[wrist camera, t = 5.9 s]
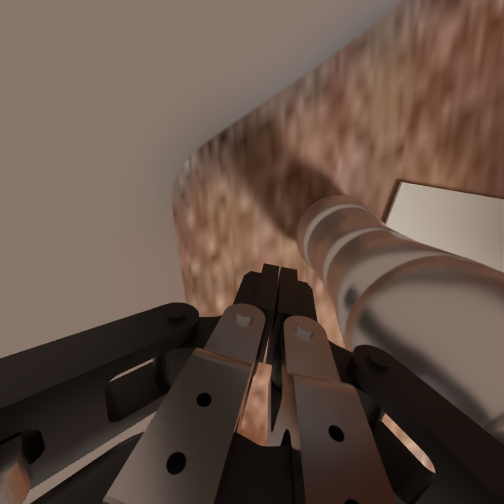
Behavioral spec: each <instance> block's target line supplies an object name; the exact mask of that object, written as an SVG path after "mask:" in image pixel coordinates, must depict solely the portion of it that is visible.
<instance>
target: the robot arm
mask: <svg viewBox="0 0 504 504" xmlns="http://www.w3.org/2000/svg"><path fill="white" fill-rule="evenodd" d="M278 274H279V266H275V265H270V264H265V263H264V265H263V269H262V273H258V272H253V271H250V272H249V273H247V274H246V275H244V277H243V280H242V283H241V285H240V288H239V290H238V293H237V295H236V298H235V300H234V303H233V305H231V306H229V307H228V308H226V310H225V311H224V313H223V315H221V316H217V317H199V313H198V311H197V309H196V308H194V307H193V306H191V305H189V304H186V303H169V304H165V305H162V306H159V307H156V308H153V309H151V310H147V311H144V312H141V313H138V314H135V315H132V316H129V317H126V318H123V319H119V320H117V321H114V322H111V323H107V324H104V325H101V326H98V327H95V328H92V329H89V330H86V331H83V332H80V333H77V334H74V335H71V336H68V337H64V338H61V339H58V340H56V341H52V342H49V343H47V344H43V345H40V346H37V347H34V348H31V349H28V350H25V351H22V352H19V353H16V354H12V355H10V356H6V357H4V358H0V504H22V503H23V502H24V500H25V498H26V496H27V494H28V492H29V490H30V489H32V488H34V487H35V486H37V485H39V484H40V483H42V482H43V481H45V480H47V479H48V478H50V477H51V476H53V475H55V474H56V473H58V472H59V471H61V470H63V469H64V468H66V467H67V466H69V465H71V464H72V463H74V462H75V461H77V460H79V459H80V458H82V457H84V456H85V455H86V454H88V453H90V452H92V451H93V450H95V449H96V448H98V447H100V446H101V445H103V444H104V443H106V442H107V441H109V440H110V439H112V438H114V437H116V436H117V435H119V434H120V433H122V432H124V431H125V430H127V429H128V428H130V427H132V426H133V425H135V424H136V423H138V422H140V421H141V420H143V419H144V418H146V417H147V416H149V415H151V414H152V413H154V412H156V411H157V412H156V413H155V415H154V417H153V418H152V420H151V422H150V423H149V425H148V427H147V428H146V430H145V431H144V432H142V433H139V434H137V435H134V436H132V437H130V438H128V439H126V440H125V441H123V442H121V443H119V444H118V445H116V446H114V447H113V448H112V449H110V450H108V451H107V452H106V453H104V454H103V455H101V456H100V457H98V458H97V459H95V460H94V461H92V462H91V463H89V464H88V465H86V466H85V467H84V468H82V469H81V470H79V471H78V472H76V473H75V474H73V475H72V476H70V477H69V478H67V479H66V480H64V481H63V482H61V483H60V484H59V485H57V486H56V487H54V488H53V489H51V490H50V491H48V492H47V493H46V494H44V495H42V496H41V497H39V498H38V499H36V500H35V501H34V502H32V503H30V504H504V445H503V444H502V443H501V442H500V441H498V440H497V439H496V438H495V437H493V436H492V435H491V434H490V433H488V432H487V431H486V430H484V429H483V428H482V427H481V426H479V425H478V424H477V423H476V422H474V421H473V420H472V419H471V418H469V417H468V416H467V415H466V414H464V413H463V412H462V411H461V410H459V409H458V408H457V407H456V406H454V405H453V404H452V403H451V402H449V401H448V400H447V399H445V398H444V397H443V396H442V395H440V394H439V393H438V392H437V391H435V390H434V389H433V388H432V387H430V386H429V385H428V384H427V383H425V382H424V381H423V380H422V379H420V378H419V377H418V376H417V375H415V374H414V373H413V372H411V371H410V370H409V369H408V368H406V367H405V366H404V365H403V364H401V363H400V362H399V361H398V360H396V359H395V358H394V357H393V356H391V355H390V354H389V353H387V352H385V351H384V350H382V349H380V348H377V347H375V346H371V345H358V346H356V347H355V348H354V350H353V352H350V351H348V350H346V349H344V348H341V347H339V346H337V345H335V344H334V343H332V342H330V341H329V340H328V338H327V334H326V332H325V330H324V328H323V327H322V326H321V325H320V324H319V323H318V322H317V316H316V310H315V304H314V298H313V291H312V289H311V287H310V286H309V285H308V284H307V283H306V282H302V281H298V278H297V270H295V269H290V268H285V267H281V270H280V274H279V278H278ZM268 338H269V340H268ZM267 342H268V348H267V356H266V364H270V365H272V372H271V376H270V380H269V385H268V440H267V446H260V445H258V444H256V443H254V442H252V441H251V440H249V439H247V438H246V437H244V436H242V435H240V434H239V431H240V427H241V423H242V420H243V416H244V412H245V408H246V404H247V400H248V396H249V392H250V389H251V385H252V381H253V377H254V375H255V374H256V371H257V367H258V362H261V363H263V359H264V355H265V351H266V346H267ZM150 359H153V362H151V363H149V364H147V365H145V366H142V367H140V368H138V369H137V370H134V371H132V372H130V373H128V374H126V375H124V376H121V377H119V378H117V379H115V380H113V381H111V382H110V380H112V379H113V378H114V377H115V376H117V375H119V374H121V373H123V372H125V371H127V370H129V369H131V368H133V367H136V366H138V365H140V364H142V363H144V362H146V361H148V360H150ZM385 413H386V414H387V415H388V416H389V417H390V418H391V419H392V420H393V421H394V422H395V423H396V424H397V425H398V426H399V427H400V428H401V429H402V430H403V431H404V432H405V433H406V434H407V435H408V436H409V437H410V438H411V439H412V440H413V441H414V442H415V443H416V444H417V445H418V446H419V447H420V448H421V449H422V450H423V451H424V452H425V454H426V455H427V456H428V457H429V458H430V460H431V462H432V463H433V465H434V468H435V471H436V473H433V472H431V471H430V470H428V469H427V468H426V467H425V466H424V465H423V464H422V463H421V462H420V461H419V460H418V459H417V458H416V457H415V456H414V455H413V454H412V453H411V452H410V451H409V450H408V449H407V448H406V446H405V445H404V444H403V443H402V442H401V441H400V440H399V439H398V438H397V437H396V436H395V435H394V434H393V433H392V432H391V431H390V430H389V429H388V427H387V426H386V425H385V424H384V423H383V422H382V421H381V420H382V418H383V416H384V415H385Z"/></svg>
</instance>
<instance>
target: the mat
mask: <svg viewBox="0 0 504 504" xmlns="http://www.w3.org/2000/svg"><path fill="white" fill-rule="evenodd" d="M384 224H386V225H387V226H388V227H389V228H391V229H392V230H394V231H397V232H399V233H400V234H403V235H405V236H407V237H409V238H411V239H413V240H415V241H418V242H420V243H423V244H426V245H429V246H432V247H435V248H438V249H441V250H444V251H447V252H450V253H453V254H456V255H459V256H462V257H466V258H469V259H471V260H474V261H477V262H480V263H482V264H484V265H487V266H489V267H491V268H494V269H496V270H499V271H501V272H504V199H498V198H492V197H486V196H480V195H475V194H469V193H463V192H457V191H451V190H445V189H440V188H434V187H428V186H422V185H416V184H410V183H404V182H400V184H399V187H398V189H397V192H396V194H395V197H394V200H393V202H392V205H391V208H390V210H389V213H388V215H387V218H386V221H385V223H384Z"/></svg>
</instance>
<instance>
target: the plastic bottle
mask: <svg viewBox="0 0 504 504" xmlns="http://www.w3.org/2000/svg"><path fill="white" fill-rule="evenodd" d="M297 246H298V250H299V252H300V255H301V257H302V258H303V259H304V261H305V262H306V263H307V264H308V266H309V267H310V268H311V269H313V270H314V271H315V272H316V273H317V275H318V276H319V277H320V279H321V280H322V282H323V283H324V284H325V286H326V289H327V291H328V293H329V296H330V298H331V301H332V303H333V306H334V308H335V312H336V316H337V319H338V323H339V327H340V331H341V334H342V338H343V342H344V345H345V349H346V350H348V351H350V352H353V350H354V348H355V347H356V346H358V345H371V346H375V347H377V348H380V349H382V350H384V351H385V352H387V353H389V354H390V355H391V356H393V357H394V358H395V359H396V360H398V361H399V362H400V363H401V364H403V365H404V366H405V367H406V368H408V369H409V370H410V371H411V372H413V373H414V374H415V375H417V376H418V377H419V378H420V379H422V380H423V381H424V382H425V383H427V384H428V385H429V386H430V387H432V388H433V389H434V390H435V391H437V392H438V393H439V394H440V395H442V396H443V397H444V398H445V399H447V400H448V401H449V402H451V403H452V404H453V405H454V406H456V407H457V408H458V409H459V410H461V411H462V412H463V413H464V414H466V415H467V416H468V417H469V418H471V419H472V420H473V421H474V422H476V423H477V424H478V425H479V426H481V427H482V428H483V429H484V430H486V431H487V432H488V433H490V434H491V435H492V436H493V437H495V438H496V439H497V440H498V441H500V442H501V443H502V444H503V445H504V272H501V271H499V270H496V269H494V268H491V267H489V266H487V265H484V264H482V263H480V262H477V261H474V260H471V259H469V258H466V257H462V256H459V255H456V254H453V253H450V252H447V251H444V250H441V249H438V248H435V247H432V246H429V245H426V244H423V243H420V242H418V241H415V240H413V239H411V238H409V237H407V236H405V235H403V234H400V233H399V232H397V231H394V230H392V229H391V228H389V227H388V226H387V225H386V224H384V223H383V222H382V221H381V220H379V219H378V218H377V216H376V215H375V214H374V213H373V211H372V210H371V209H370V208H369V207H368V206H367V205H366V204H364V203H363V202H361V201H360V200H359V199H356V198H353V197H350V196H341V195H336V196H328V197H324V198H322V199H320V200H318V201H316V202H315V203H313V204H312V205H310V206H309V208H308V209H307V210H306V211H305V212H304V214H303V215H302V217H301V219H300V221H299V223H298V228H297Z"/></svg>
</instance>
